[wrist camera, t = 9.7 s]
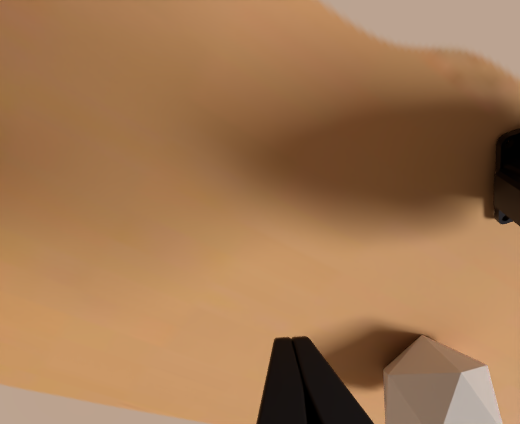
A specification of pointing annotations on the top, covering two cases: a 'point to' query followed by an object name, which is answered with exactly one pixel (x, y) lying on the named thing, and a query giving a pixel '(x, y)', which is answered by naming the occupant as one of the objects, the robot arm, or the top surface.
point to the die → (438, 387)
